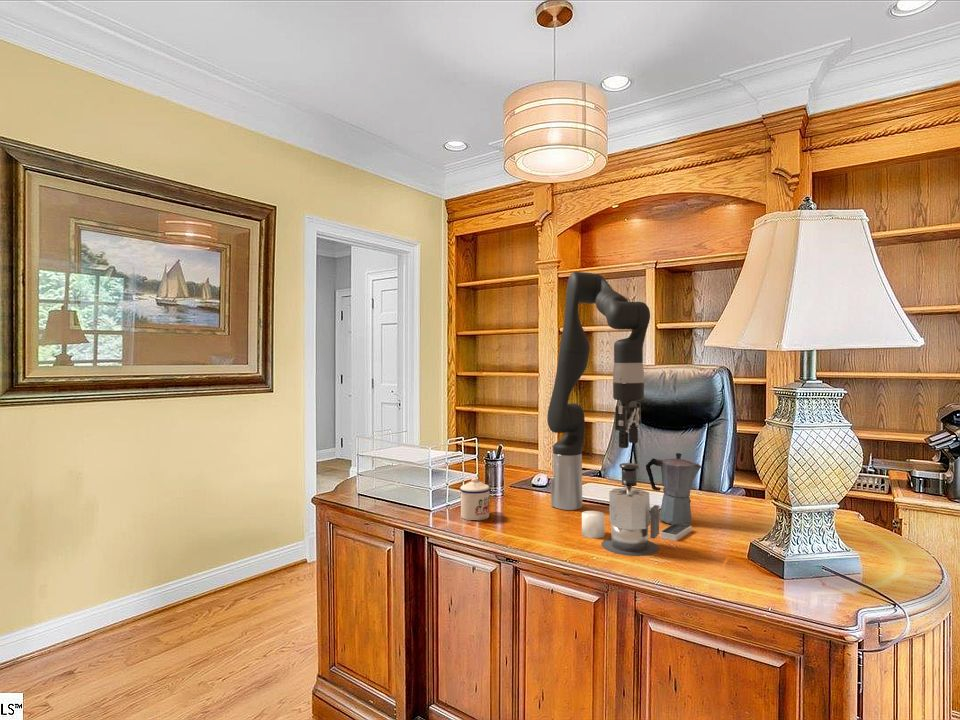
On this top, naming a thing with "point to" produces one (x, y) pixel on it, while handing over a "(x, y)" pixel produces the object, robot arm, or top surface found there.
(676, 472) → the moka pot
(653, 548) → the coaster
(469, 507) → the teacup with lid
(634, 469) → the plunger
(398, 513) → the top surface
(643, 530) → the press carafe
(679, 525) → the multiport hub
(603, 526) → the white rounded cylinder
